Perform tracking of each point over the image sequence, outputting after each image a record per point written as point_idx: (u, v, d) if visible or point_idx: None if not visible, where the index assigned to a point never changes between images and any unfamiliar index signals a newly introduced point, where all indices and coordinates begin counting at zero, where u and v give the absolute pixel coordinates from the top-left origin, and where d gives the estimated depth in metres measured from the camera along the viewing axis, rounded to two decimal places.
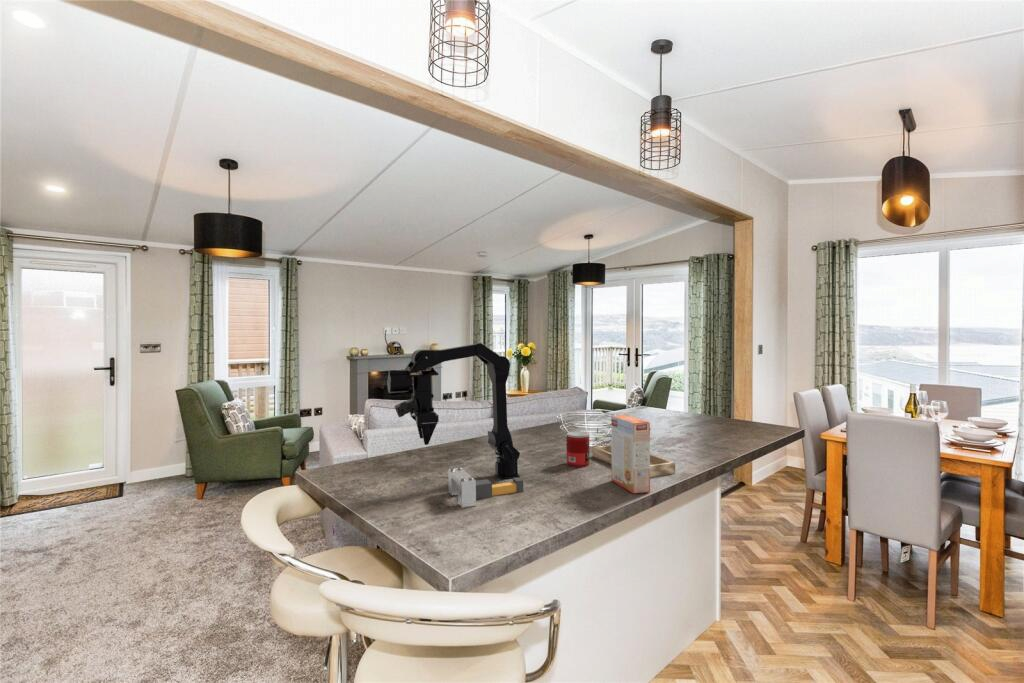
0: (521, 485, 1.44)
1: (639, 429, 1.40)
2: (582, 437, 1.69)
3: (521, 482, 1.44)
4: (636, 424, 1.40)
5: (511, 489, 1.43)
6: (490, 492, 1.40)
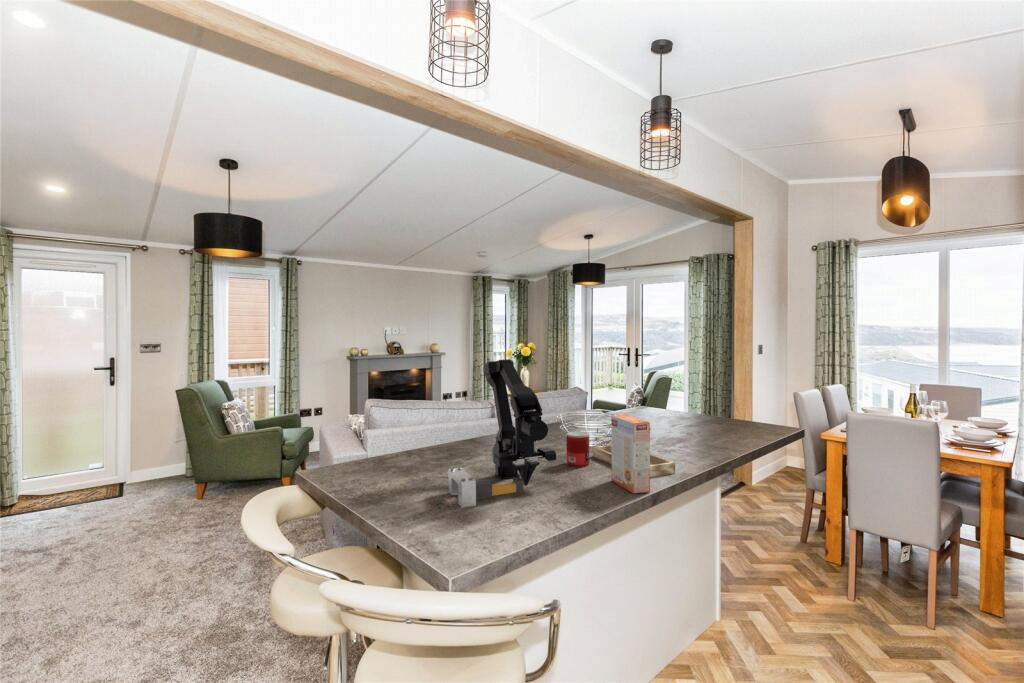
0: (521, 485, 1.44)
1: (639, 429, 1.40)
2: (582, 437, 1.69)
3: (521, 482, 1.44)
4: (636, 424, 1.40)
5: (511, 489, 1.43)
6: (490, 492, 1.40)
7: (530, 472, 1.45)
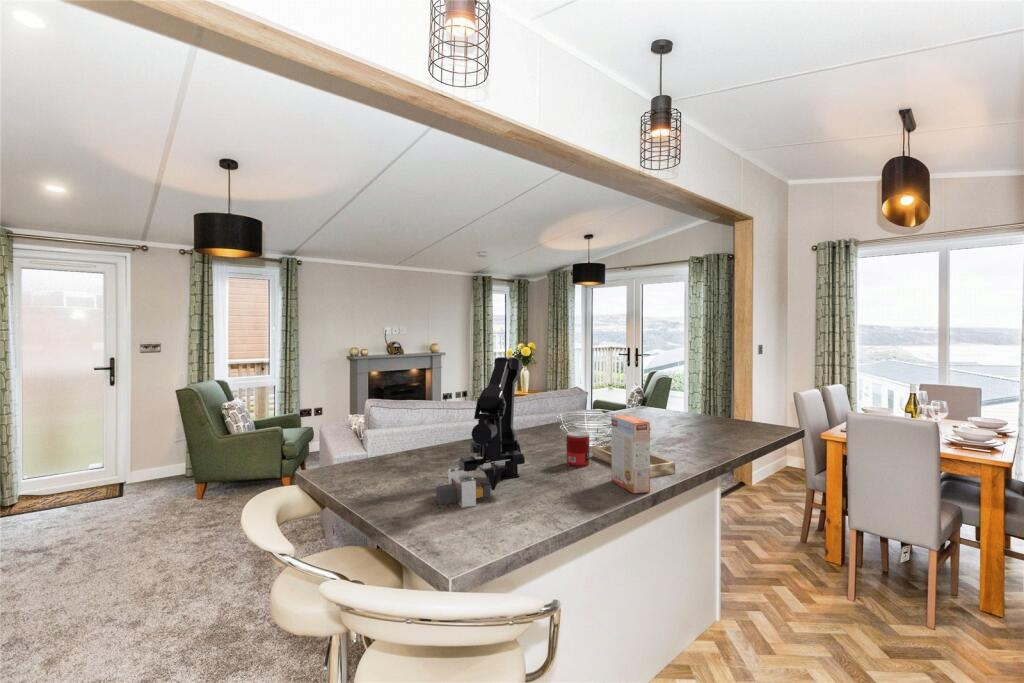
0: (488, 490, 1.40)
1: (639, 429, 1.40)
2: (582, 437, 1.69)
3: (488, 487, 1.40)
4: (636, 424, 1.40)
5: (478, 494, 1.39)
6: (455, 497, 1.36)
7: (497, 476, 1.40)
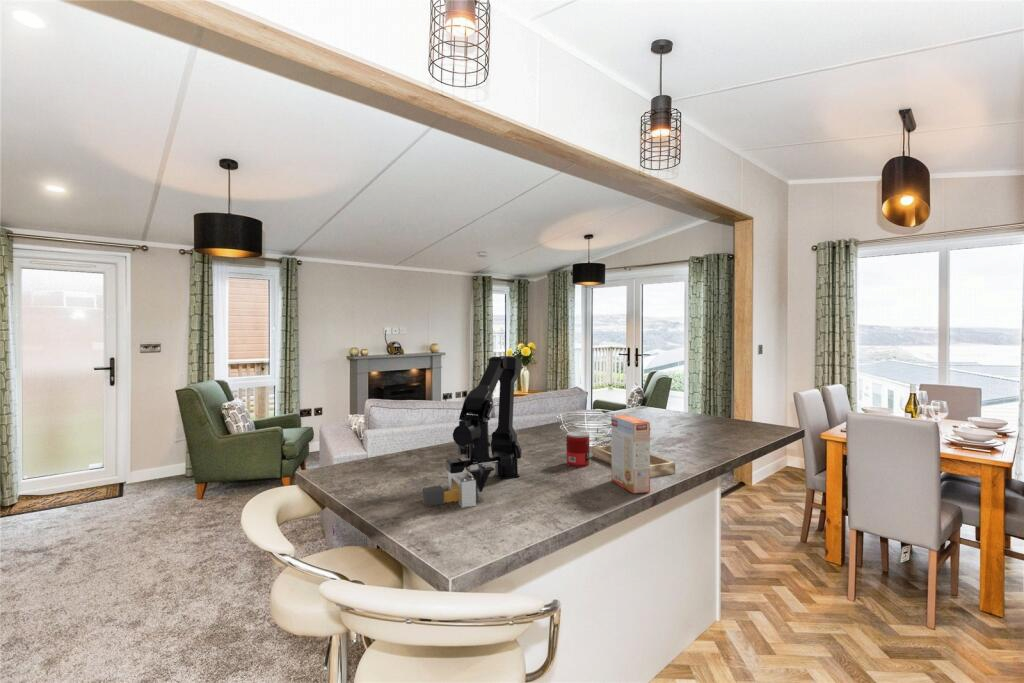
0: None
1: (639, 429, 1.40)
2: (582, 437, 1.69)
3: None
4: (636, 424, 1.40)
5: None
6: (442, 499, 1.35)
7: (484, 478, 1.39)
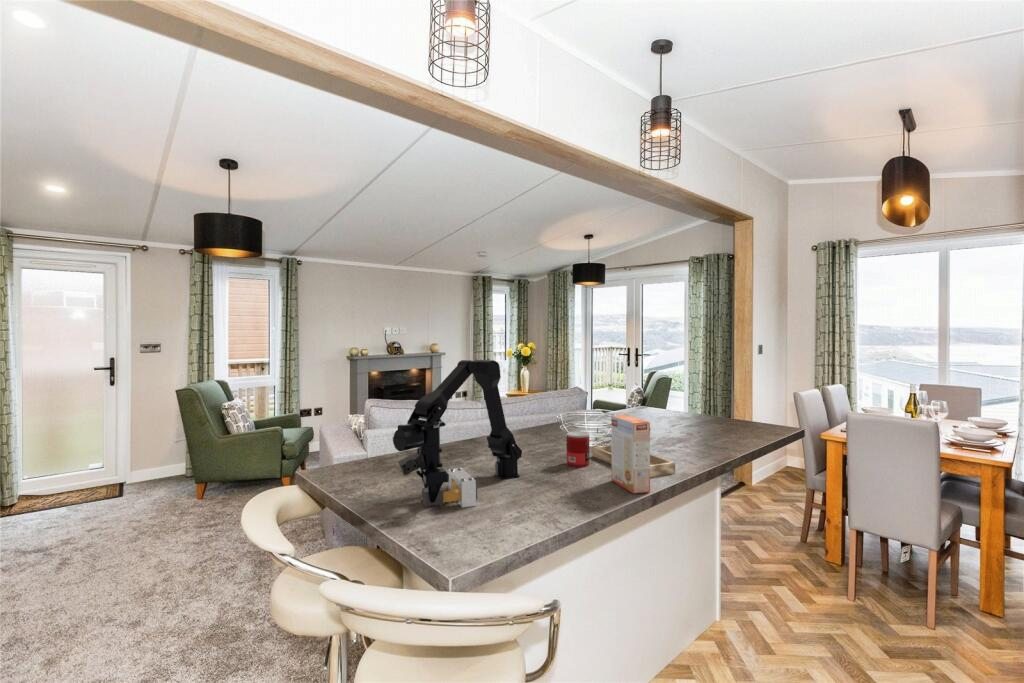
0: None
1: (639, 429, 1.40)
2: (582, 437, 1.69)
3: None
4: (636, 424, 1.40)
5: None
6: (441, 499, 1.34)
7: None
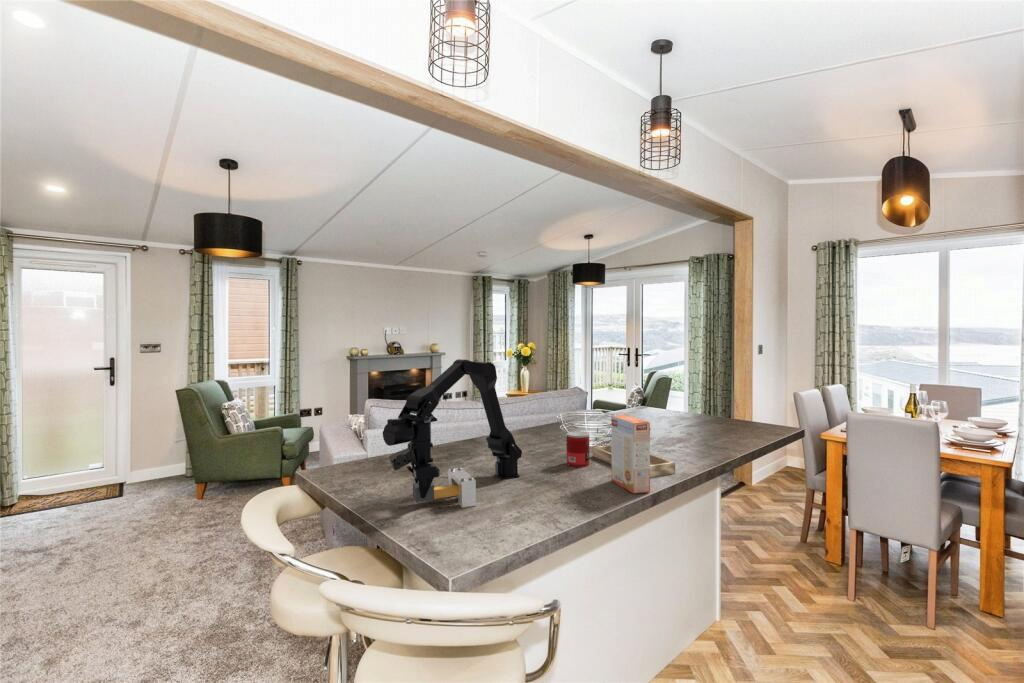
0: None
1: (639, 429, 1.40)
2: (582, 437, 1.69)
3: None
4: (636, 424, 1.40)
5: (456, 492, 1.37)
6: (432, 495, 1.33)
7: None
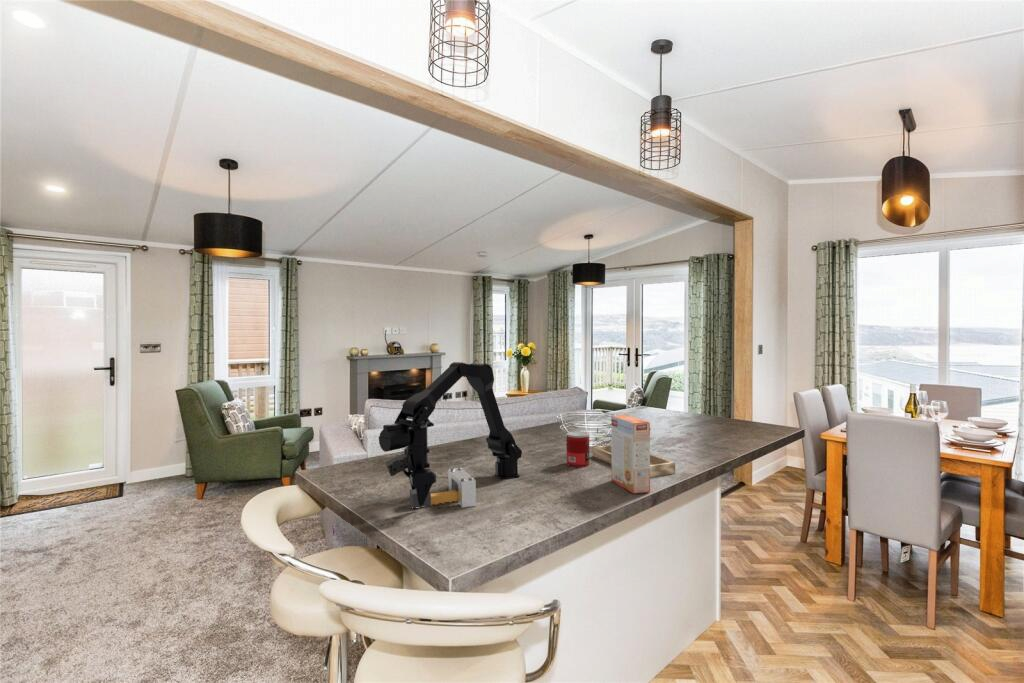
0: None
1: (639, 429, 1.40)
2: (582, 437, 1.69)
3: None
4: (636, 424, 1.40)
5: (453, 498, 1.36)
6: (429, 501, 1.33)
7: None
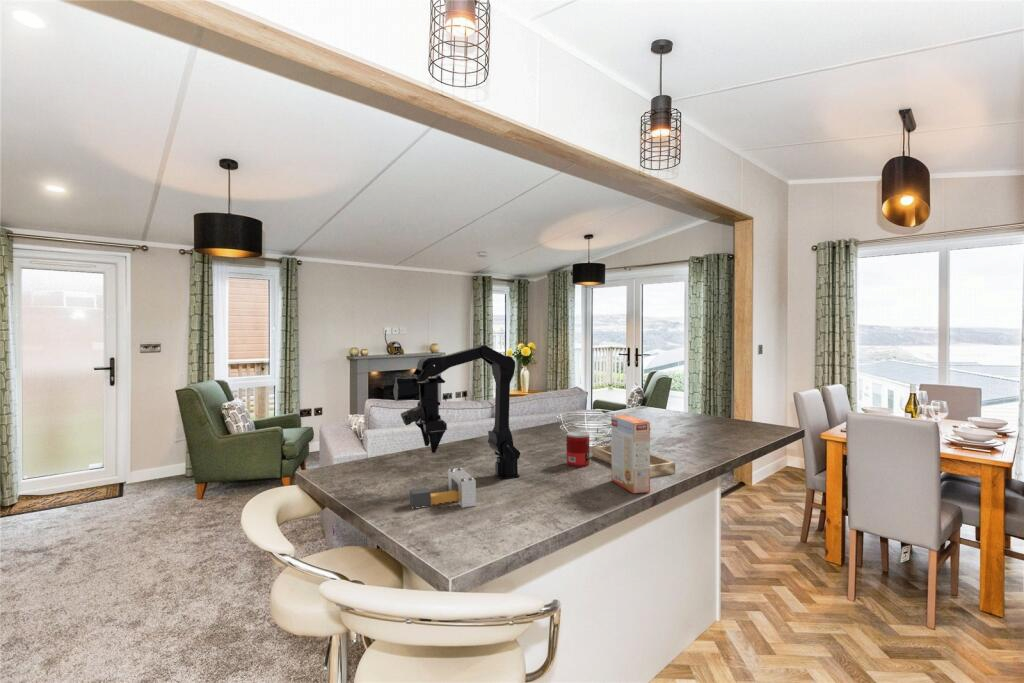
0: None
1: (639, 429, 1.40)
2: (582, 437, 1.69)
3: None
4: (636, 424, 1.40)
5: (453, 498, 1.36)
6: (429, 501, 1.33)
7: None
